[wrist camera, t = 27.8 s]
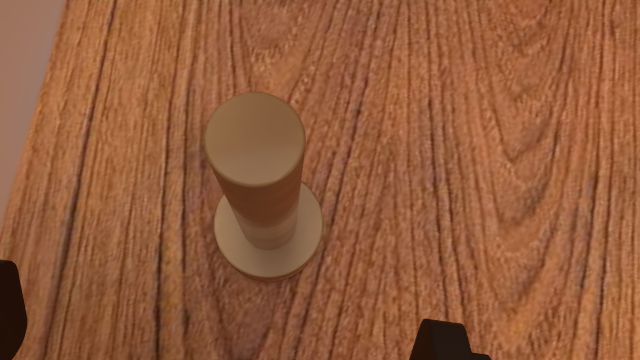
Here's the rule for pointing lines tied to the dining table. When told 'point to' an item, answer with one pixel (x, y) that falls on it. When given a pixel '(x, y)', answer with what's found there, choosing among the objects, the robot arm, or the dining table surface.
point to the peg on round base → (262, 187)
